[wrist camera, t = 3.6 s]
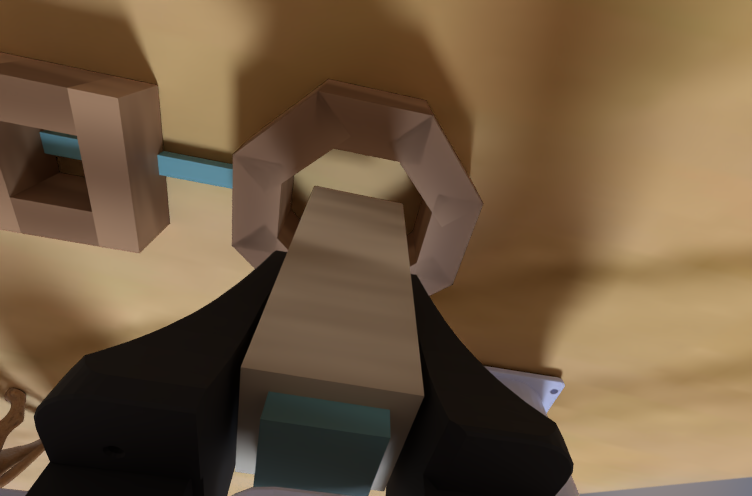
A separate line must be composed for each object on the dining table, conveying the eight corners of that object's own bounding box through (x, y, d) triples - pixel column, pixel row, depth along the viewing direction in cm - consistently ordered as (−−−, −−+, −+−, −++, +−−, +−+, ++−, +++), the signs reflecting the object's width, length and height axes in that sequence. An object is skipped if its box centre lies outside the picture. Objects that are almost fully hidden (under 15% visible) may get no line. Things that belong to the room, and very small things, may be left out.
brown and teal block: (383, 275, 17) (384, 519, 9) (303, 260, 17) (226, 499, 8) (402, 203, 15) (427, 424, 7) (314, 185, 15) (229, 394, 7)
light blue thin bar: (237, 184, 19) (233, 188, 19) (3, 139, 18) (-8, 143, 18) (237, 165, 19) (233, 169, 18) (-4, 118, 18) (-15, 121, 17)
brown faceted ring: (429, 295, 23) (435, 330, 20) (249, 264, 22) (231, 297, 19) (492, 114, 17) (510, 132, 15) (256, 62, 16) (233, 72, 14)
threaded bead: (169, 223, 21) (139, 253, 18) (30, 198, 20) (-22, 226, 17) (157, 85, 17) (117, 98, 14) (-13, 49, 16) (-86, 56, 14)
